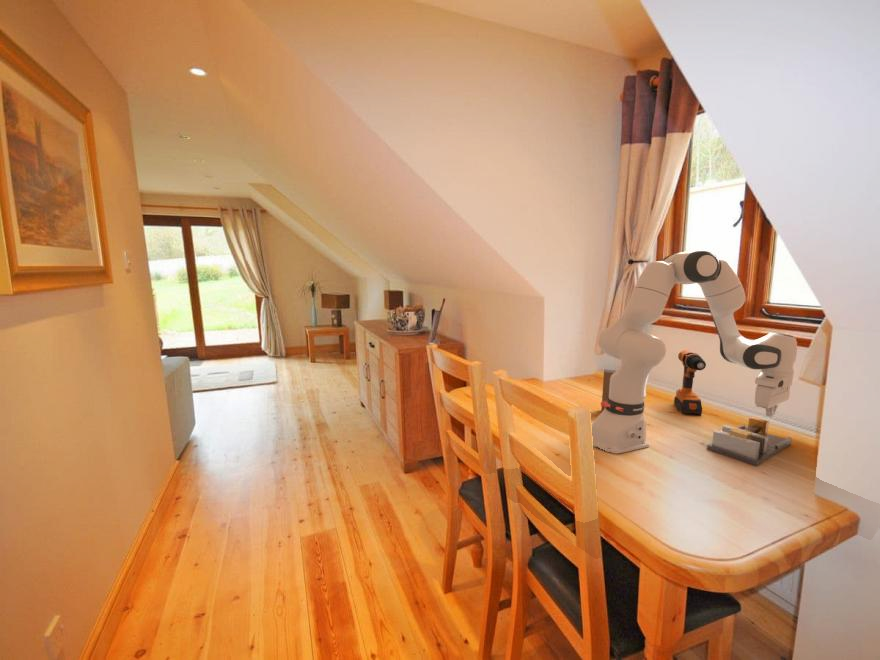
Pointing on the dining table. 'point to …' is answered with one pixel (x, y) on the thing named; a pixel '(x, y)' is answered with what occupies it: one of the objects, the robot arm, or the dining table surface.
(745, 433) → the brass block
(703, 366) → the power drill
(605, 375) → the brown tall block
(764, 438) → the sliding jaw
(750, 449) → the vise base
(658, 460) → the dining table surface
